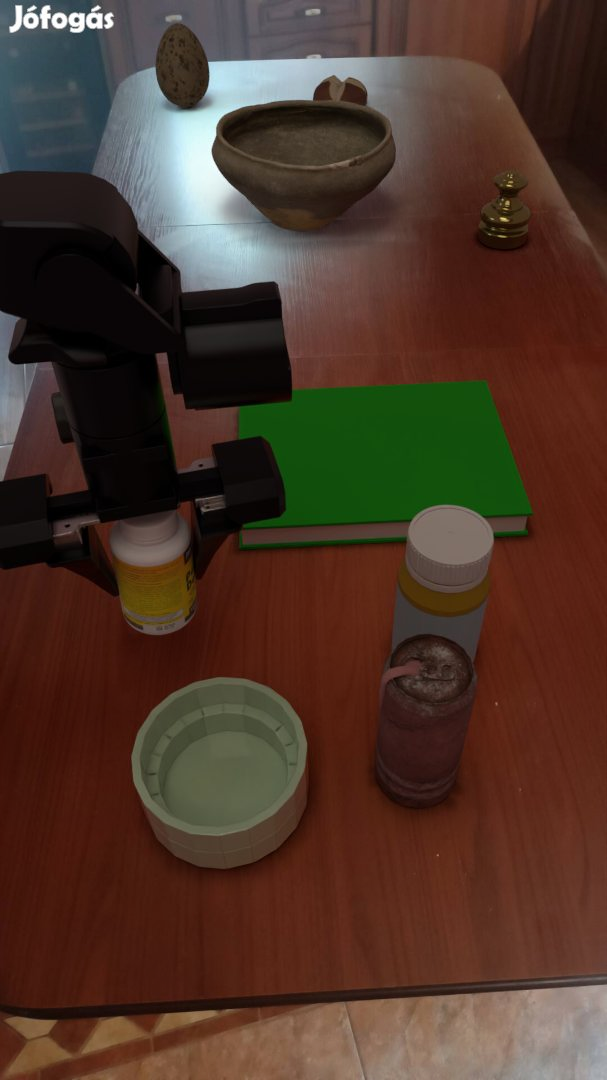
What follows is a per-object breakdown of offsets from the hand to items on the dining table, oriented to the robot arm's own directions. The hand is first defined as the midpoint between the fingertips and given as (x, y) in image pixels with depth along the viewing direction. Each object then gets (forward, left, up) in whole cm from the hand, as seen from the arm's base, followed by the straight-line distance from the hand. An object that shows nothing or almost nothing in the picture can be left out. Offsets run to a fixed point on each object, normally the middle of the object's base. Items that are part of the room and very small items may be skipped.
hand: (157, 583), depth 58 cm
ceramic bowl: (+2, -11, -12) cm, 17 cm away
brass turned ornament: (+57, +68, -13) cm, 90 cm away
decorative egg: (+18, +142, -13) cm, 144 cm away
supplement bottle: (0, 0, -3) cm, 3 cm away
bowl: (+30, +84, -13) cm, 91 cm away
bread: (+49, +133, -13) cm, 143 cm away
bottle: (+21, -3, -13) cm, 25 cm away
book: (+23, +22, -13) cm, 35 cm away
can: (+16, -13, -13) cm, 24 cm away
